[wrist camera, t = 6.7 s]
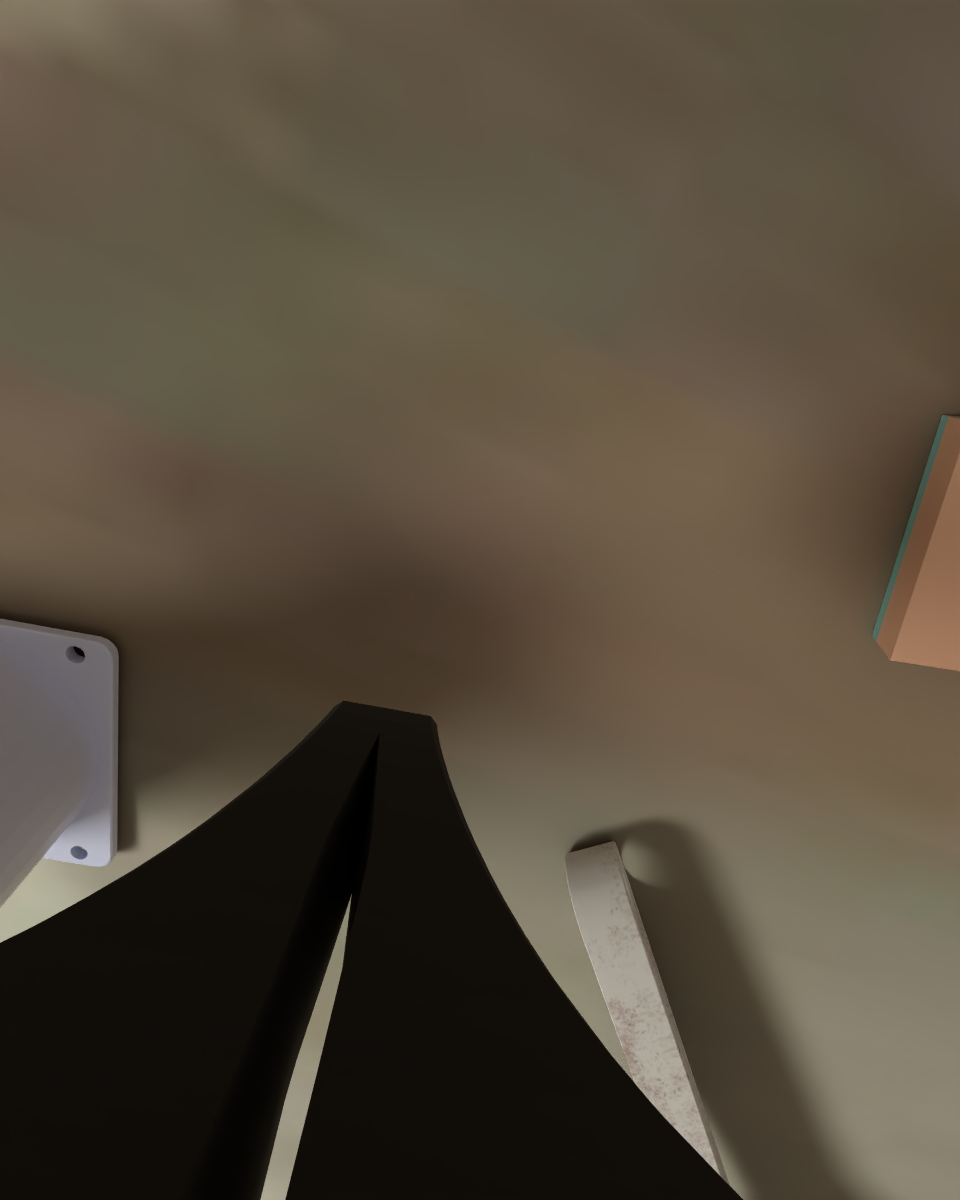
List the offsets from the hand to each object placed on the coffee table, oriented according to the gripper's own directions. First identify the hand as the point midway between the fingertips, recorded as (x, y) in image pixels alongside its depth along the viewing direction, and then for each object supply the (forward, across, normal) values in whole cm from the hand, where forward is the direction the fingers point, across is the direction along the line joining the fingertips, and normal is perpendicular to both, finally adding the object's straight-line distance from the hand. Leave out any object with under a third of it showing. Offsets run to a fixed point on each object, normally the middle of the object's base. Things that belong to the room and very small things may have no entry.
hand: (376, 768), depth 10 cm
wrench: (+10, -14, +21) cm, 27 cm away
